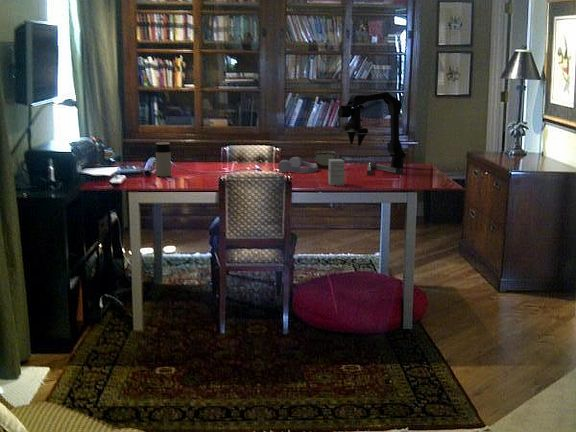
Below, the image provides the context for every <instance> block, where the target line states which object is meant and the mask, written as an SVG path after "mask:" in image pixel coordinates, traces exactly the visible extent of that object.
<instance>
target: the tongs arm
mask: <svg viewBox="0 0 576 432" xmlns="http://www.w3.org/2000/svg"><path fill="white" fill-rule="evenodd" d="M404 169H405V168H393V167H390V166H387V165H383V164H379V163H378V164H377V163H376V165H375V169H374V170H380V171H385V172H389V173H393V174H399V175H404Z"/></svg>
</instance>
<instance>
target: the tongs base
mask: <svg viewBox="0 0 576 432" xmlns="http://www.w3.org/2000/svg"><path fill="white" fill-rule="evenodd" d="M376 164H377V162H375V161H373V162H372V161H369V162H367V170H366V176H372V170H376V169H375V165H376Z"/></svg>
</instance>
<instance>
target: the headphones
mask: <svg viewBox="0 0 576 432" xmlns="http://www.w3.org/2000/svg"><path fill="white" fill-rule="evenodd" d="M277 167H278V171H279V172H280V171H282V172H286V173H288V172H294V173H301V174H303V173H304V174H311V173H315V172H316V171H317V172H318V170H319V169H318V166H317V164H315V163H312V162H308V161H304V160H303V159H302V158H301V157H299V156H293V157H290V159H289V160H288V159H282V160H280V162H279V163H278V164H277ZM282 172H281V173H282ZM317 172H316V173H317Z"/></svg>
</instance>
